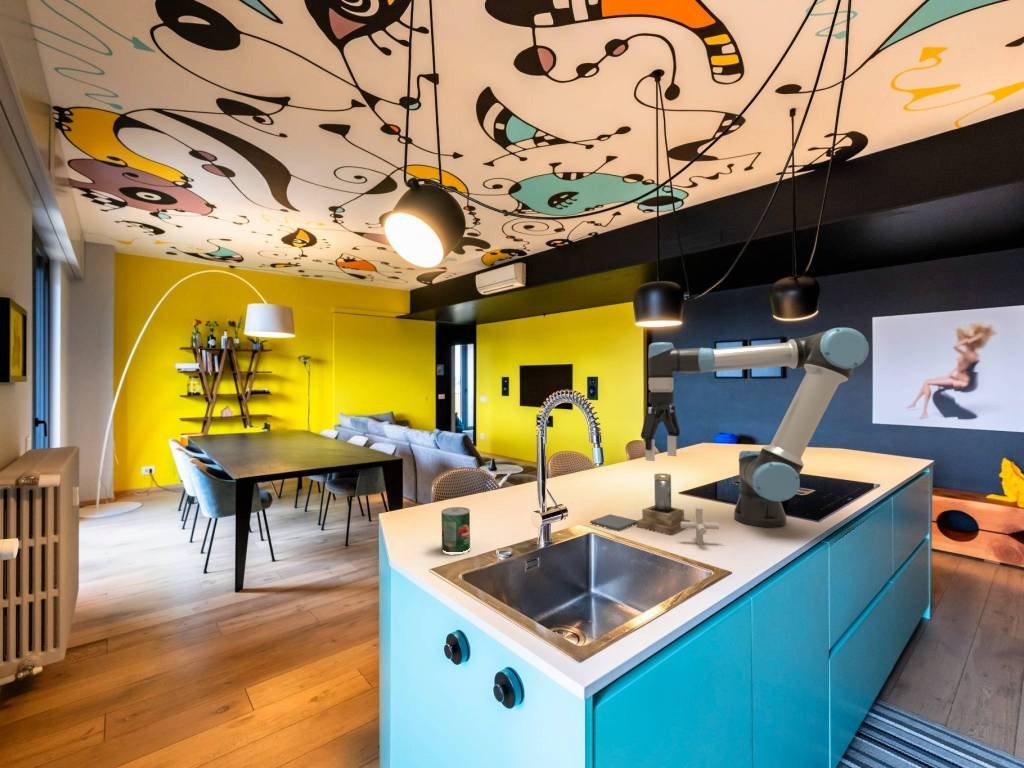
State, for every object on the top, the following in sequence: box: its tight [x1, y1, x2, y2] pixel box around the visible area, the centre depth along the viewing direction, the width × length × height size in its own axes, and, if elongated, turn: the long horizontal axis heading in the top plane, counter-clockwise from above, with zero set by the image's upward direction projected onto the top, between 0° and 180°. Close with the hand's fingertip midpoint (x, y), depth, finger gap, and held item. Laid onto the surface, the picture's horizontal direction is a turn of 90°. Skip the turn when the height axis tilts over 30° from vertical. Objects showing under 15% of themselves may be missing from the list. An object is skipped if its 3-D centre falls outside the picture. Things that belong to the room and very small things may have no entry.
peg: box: [653, 472, 672, 513], centre depth 147 cm, size 5×5×14 cm
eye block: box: [635, 504, 691, 536], centre depth 147 cm, size 12×12×6 cm
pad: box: [589, 513, 637, 532], centre depth 151 cm, size 11×11×1 cm
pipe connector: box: [680, 507, 720, 545], centre depth 132 cm, size 10×10×10 cm
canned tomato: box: [440, 506, 471, 552], centre depth 129 cm, size 8×8×11 cm
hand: (661, 458), depth 148 cm, fingers open, 13 cm apart
